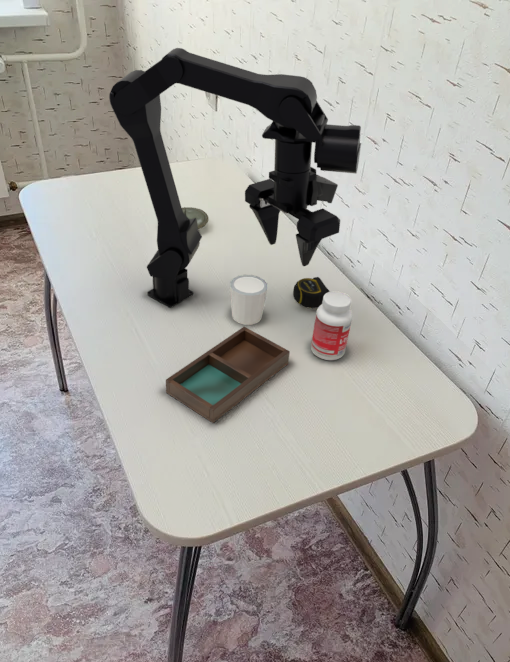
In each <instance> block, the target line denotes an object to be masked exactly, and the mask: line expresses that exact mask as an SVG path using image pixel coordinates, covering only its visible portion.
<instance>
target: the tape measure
mask: <svg viewBox="0 0 510 662" xmlns="http://www.w3.org/2000/svg"><path fill="white" fill-rule="evenodd" d="M328 292H331V291H330V290H329V288H328V287H327V286H326V285H325V283H324V282H323V280H322V279H321V277H319V276H315V277H314V276H313V278H312V277H311V278H310V277H303V278H301V279H299V280H297V281H296V282H295V284H294V287H293V291H292V297H293V299H294V301H295V302H296V303H297V304H298V305H299V306H300V307H304V308H307V309H318V307H319V306H320V305H321V304H322V301H323V297H324V295H325V294H326V293H328Z"/></svg>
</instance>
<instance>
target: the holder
mask: <svg viewBox="0 0 510 662" xmlns="http://www.w3.org/2000/svg"><path fill="white" fill-rule="evenodd" d="M290 351H291V350H289V349H287V348H284V347H283V346H281V345H280V344H277V343H275V342H274V341H271V340H270V339H269V338H266V337H265V336H263V335H261V334H259V333H257V332H255V331H254V330H252V329H250V328H247V327H246V326H243V327H241V328H240V329H238V330H237V331H235V332H233V333H232V334H231V335H229V336H228V337H226V338H225V339H223V340H222V341H220V342H219V343H218V344H216V345H215V346H213V347H211V348H210V349H209V350H207V351H206V352H204V353H202V354H201V355H200V356H198V357H197V358H195V359H194V360H193V361H191V362H190V363H187V365H185V366H184V367H182V368H181V369H179V370H178V371H176V372H175V373H173V374H171V375H170V376H169V377H167V378H166V379H165V393H166V394H167V395H169V396H171V397H172V398H174V399H175V400H177V401H178V402H180V403H181V404H183V405H184V406H186V407H188V408H189V409H190V410H192V411H194V413H197V414H198V415H199V416H201V417H203V418H205V419H206V420H208V421H209V422H210V423H212V424H214V423H215V422H217V420H219V419H220V418H222V417H223V416H224V415H225V414H226V413H228V412H229V411H231V410H232V409H233V408H235V406H237V405H239V403H241V402H242V401H244V399H245V398H247V397H248V396H249V395H251V394H252V393H253V392H254V391H256V390H257V389H258V388H260V387H261V386H262V385H263V384H265V383H266V382H267V381H268V380H269V379H271V378H273V377H274V375H276V374H278V373H279V372H280V371H281V370H282V369H283V368H285V367H286V366H288V365H289V359H290Z"/></svg>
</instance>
